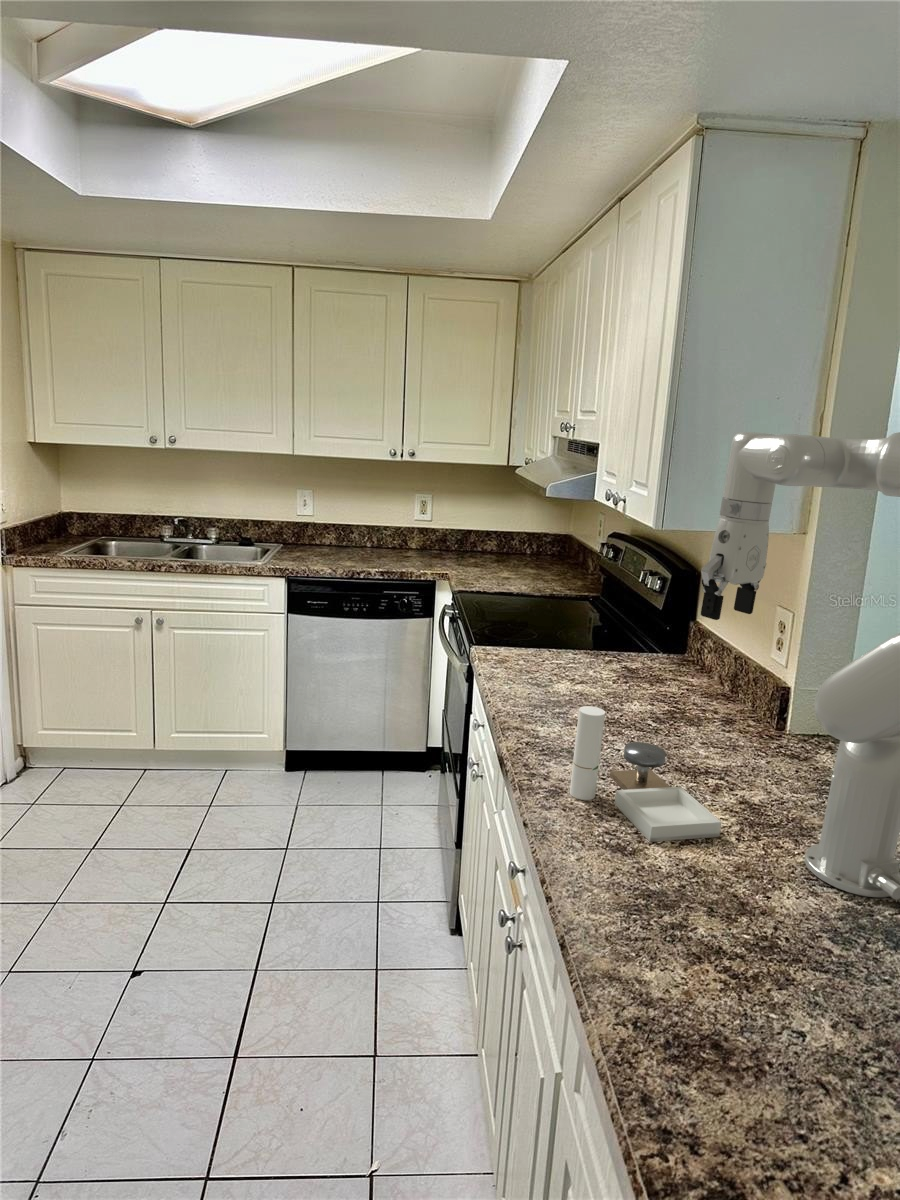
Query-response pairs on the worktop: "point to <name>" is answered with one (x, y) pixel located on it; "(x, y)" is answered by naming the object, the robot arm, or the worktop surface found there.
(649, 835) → the tray
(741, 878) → the worktop surface
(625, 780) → the knob on plate
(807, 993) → the worktop surface
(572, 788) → the tube
